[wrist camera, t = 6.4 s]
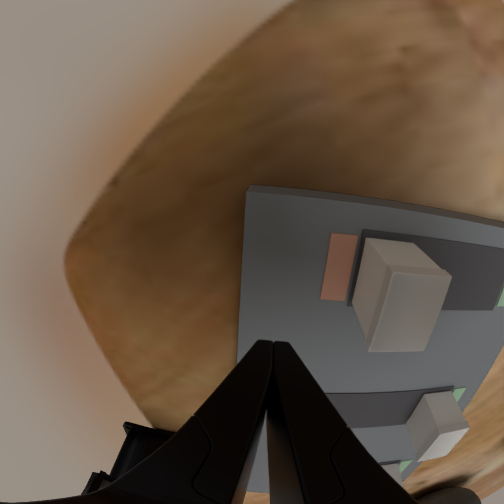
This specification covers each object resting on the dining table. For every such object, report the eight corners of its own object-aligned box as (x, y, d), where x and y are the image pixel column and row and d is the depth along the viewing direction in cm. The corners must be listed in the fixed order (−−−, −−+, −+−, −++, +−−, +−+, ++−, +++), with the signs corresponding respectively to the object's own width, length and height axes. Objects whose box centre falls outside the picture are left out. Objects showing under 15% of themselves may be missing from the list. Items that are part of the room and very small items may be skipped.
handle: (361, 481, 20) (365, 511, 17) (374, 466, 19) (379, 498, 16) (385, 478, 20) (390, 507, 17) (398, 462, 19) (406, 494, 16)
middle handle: (405, 423, 17) (416, 461, 13) (423, 393, 16) (440, 434, 12) (432, 419, 17) (445, 455, 13) (451, 390, 15) (470, 427, 12)
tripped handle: (350, 303, 13) (368, 351, 10) (365, 236, 12) (392, 271, 9) (397, 305, 13) (423, 351, 10) (414, 242, 12) (452, 276, 9)
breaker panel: (233, 474, 24) (231, 490, 22) (250, 184, 14) (246, 192, 12) (396, 471, 23) (399, 485, 21) (525, 227, 13) (545, 238, 11)
